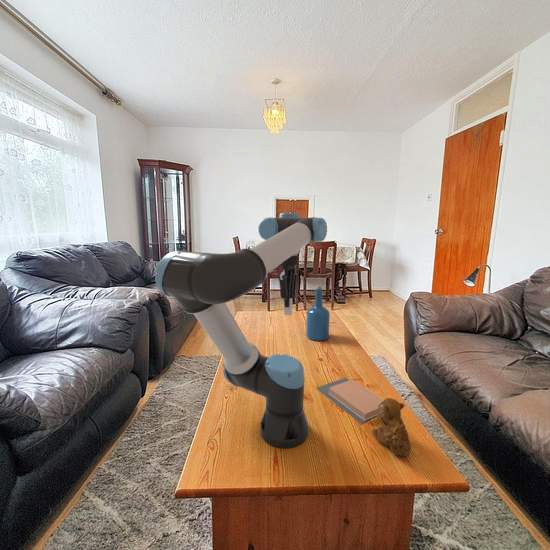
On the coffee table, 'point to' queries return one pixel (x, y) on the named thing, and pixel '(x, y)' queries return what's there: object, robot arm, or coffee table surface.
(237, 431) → the coffee table surface
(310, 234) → the robot arm
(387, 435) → the stuffed squirrel
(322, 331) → the wine bottle
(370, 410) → the tile
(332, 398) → the mat
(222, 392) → the coffee table surface
